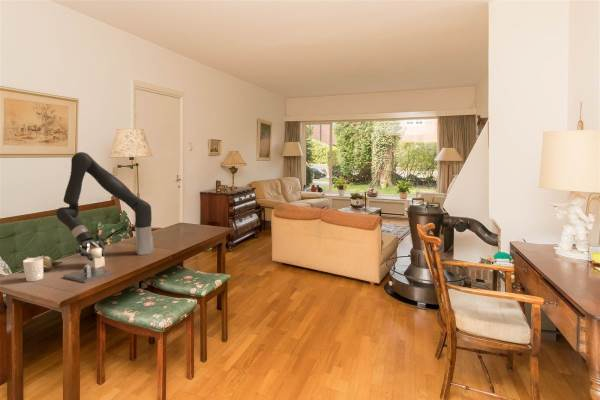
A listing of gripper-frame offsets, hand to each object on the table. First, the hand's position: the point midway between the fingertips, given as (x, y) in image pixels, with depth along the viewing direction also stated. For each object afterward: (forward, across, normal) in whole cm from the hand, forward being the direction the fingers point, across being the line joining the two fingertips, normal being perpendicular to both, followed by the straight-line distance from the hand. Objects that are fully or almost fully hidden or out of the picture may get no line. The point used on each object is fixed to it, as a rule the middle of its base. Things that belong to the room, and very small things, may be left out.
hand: (98, 258), depth 186 cm
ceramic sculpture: (-12, -15, +20) cm, 28 cm away
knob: (+2, 0, +5) cm, 5 cm away
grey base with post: (+9, -12, -2) cm, 15 cm away
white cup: (-4, -26, +11) cm, 29 cm away
